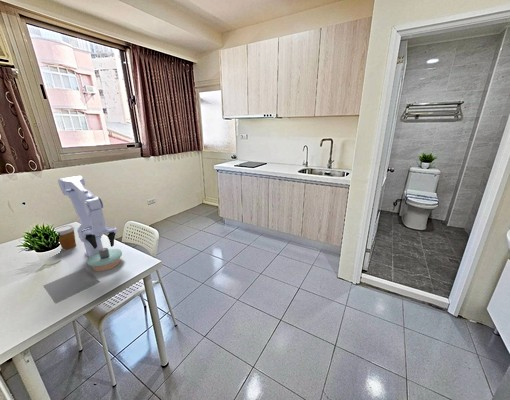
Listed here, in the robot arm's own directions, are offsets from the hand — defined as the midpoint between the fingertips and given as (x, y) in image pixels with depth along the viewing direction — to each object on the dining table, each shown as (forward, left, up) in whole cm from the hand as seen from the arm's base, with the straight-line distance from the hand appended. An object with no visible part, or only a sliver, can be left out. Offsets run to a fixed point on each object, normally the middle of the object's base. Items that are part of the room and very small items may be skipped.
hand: (104, 246), depth 113 cm
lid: (0, -1, -6) cm, 6 cm away
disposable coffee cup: (-38, -6, -10) cm, 39 cm away
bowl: (0, -1, -10) cm, 10 cm away
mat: (+4, -17, -10) cm, 20 cm away
